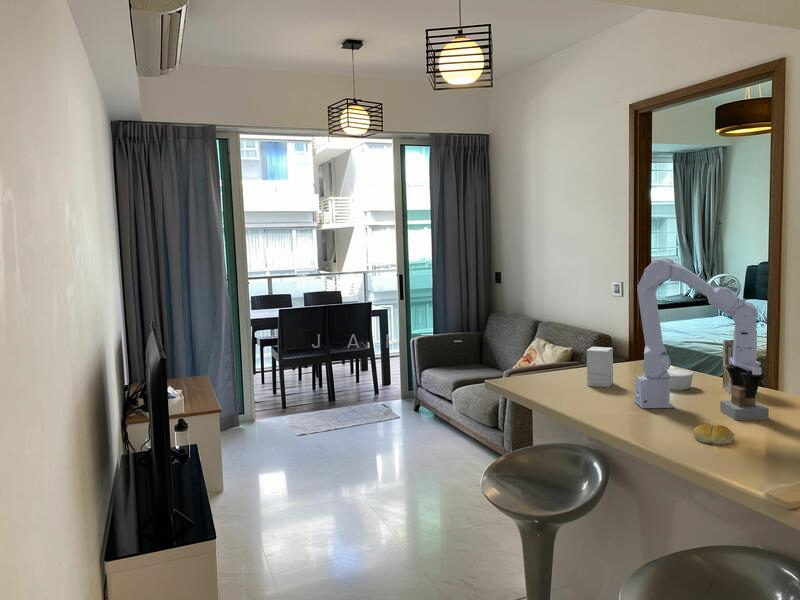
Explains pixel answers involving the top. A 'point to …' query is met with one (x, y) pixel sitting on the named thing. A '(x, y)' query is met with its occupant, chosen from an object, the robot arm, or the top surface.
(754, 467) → the top surface
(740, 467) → the top surface
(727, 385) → the coffee box
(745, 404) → the walnut block
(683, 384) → the ramekin
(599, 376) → the supplement box
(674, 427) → the top surface
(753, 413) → the block
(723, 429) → the bread roll
